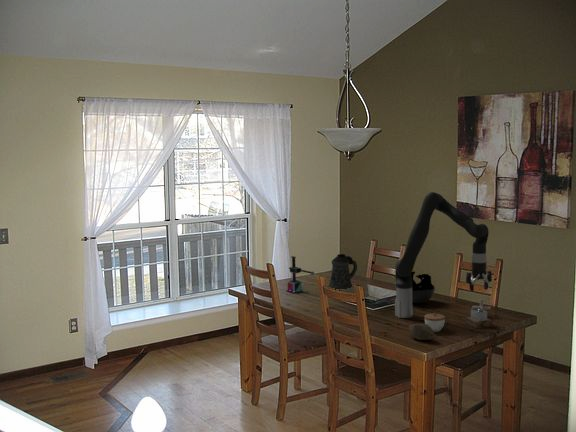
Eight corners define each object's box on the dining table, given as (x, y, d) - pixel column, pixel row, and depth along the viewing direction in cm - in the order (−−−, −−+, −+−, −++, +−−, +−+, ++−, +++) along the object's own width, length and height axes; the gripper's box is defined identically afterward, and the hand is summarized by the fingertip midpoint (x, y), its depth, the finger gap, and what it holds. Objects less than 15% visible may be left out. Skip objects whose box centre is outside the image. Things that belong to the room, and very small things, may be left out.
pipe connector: (490, 314, 365) (490, 297, 364) (490, 319, 356) (490, 301, 355) (472, 313, 368) (472, 296, 367) (471, 318, 359) (471, 300, 358)
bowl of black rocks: (435, 307, 384) (435, 277, 381) (402, 306, 387) (401, 276, 385) (434, 299, 403) (433, 270, 401) (402, 298, 407) (401, 270, 405)
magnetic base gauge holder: (282, 290, 439) (281, 256, 436) (292, 288, 445) (291, 254, 442) (306, 296, 420) (305, 260, 417) (316, 294, 426) (315, 258, 423)
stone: (440, 340, 322) (440, 325, 321) (429, 344, 316) (429, 329, 316) (414, 333, 335) (413, 319, 334) (403, 337, 330) (402, 322, 329)
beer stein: (323, 291, 434) (322, 255, 431) (342, 285, 447) (341, 251, 444) (341, 294, 422) (340, 258, 419) (360, 289, 435) (359, 253, 432)
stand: (475, 328, 340) (475, 322, 340) (464, 322, 351) (464, 317, 351) (493, 325, 343) (493, 320, 343) (481, 320, 354) (482, 315, 354)
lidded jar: (444, 327, 344) (444, 310, 343) (445, 333, 333) (445, 316, 332) (424, 326, 346) (424, 310, 345) (424, 332, 336) (424, 315, 335)
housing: (470, 317, 350) (470, 307, 349) (478, 316, 351) (478, 306, 350) (479, 321, 342) (479, 310, 341) (487, 320, 343) (487, 309, 343)
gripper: (486, 258, 348) (486, 287, 350) (463, 260, 344) (463, 289, 346) (494, 261, 341) (494, 290, 343) (471, 263, 337) (471, 292, 339)
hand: (478, 290), depth 344 cm, fingers open, 8 cm apart
